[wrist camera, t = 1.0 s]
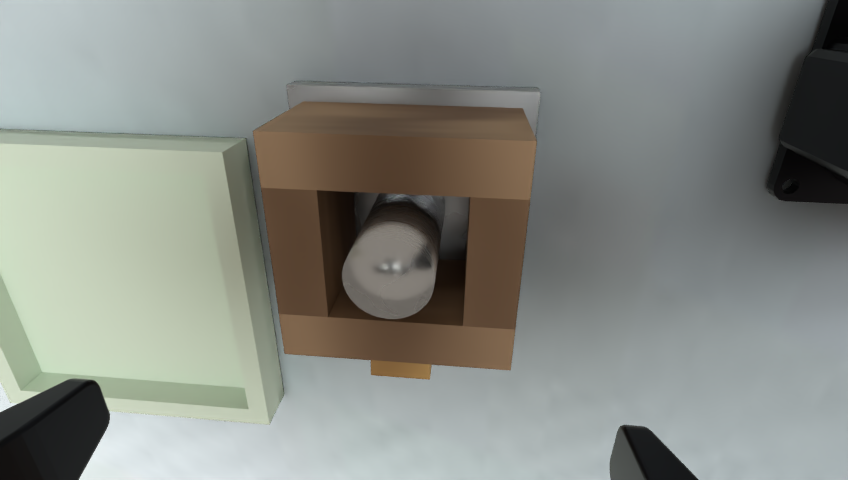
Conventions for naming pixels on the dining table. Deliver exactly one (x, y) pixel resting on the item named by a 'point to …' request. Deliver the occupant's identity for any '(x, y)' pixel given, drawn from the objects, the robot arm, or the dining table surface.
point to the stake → (407, 202)
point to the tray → (136, 274)
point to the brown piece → (397, 174)
